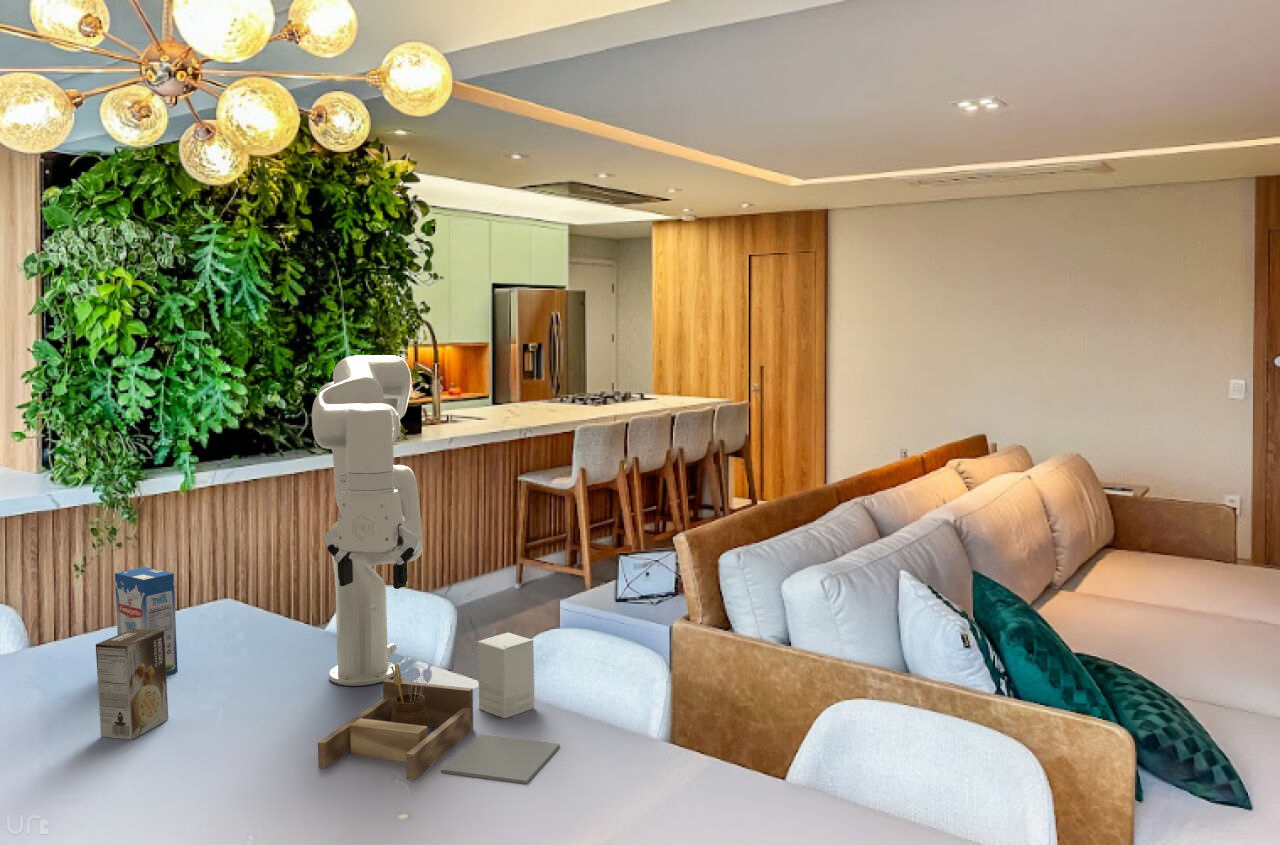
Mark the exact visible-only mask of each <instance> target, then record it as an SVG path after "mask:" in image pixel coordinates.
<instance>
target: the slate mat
mask: <svg viewBox="0 0 1280 845" xmlns="http://www.w3.org/2000/svg"><path fill="white" fill-rule="evenodd" d="M560 746H561V745H560V743H555V742H548V741H540V740H531V739H524V738H523V739H522V738H516V737H514V738H513V737H508V736H507V737H505V736H498V735H490V734H481V733H480V734H479V735H478V736H477V737H476V738H475V739H474V740H472V741H471V742H470V743H469V744H468V745H467V746H466V747H464V749H462V750H461V752H459V753H458V754H457V755H456V756H455V757H454V758H453V759H451V760H450V761H449V762H448V763H447V764H446V765H445V766H443V767H442V768H441V773H443V774H450V775H456V776H457V775H459V776H465V777H473V778H478V779H479V778H481V779H488V780H496V781H502V782H510V783H519V784H524V785H525V784H526V785H527V784H528V783H529V782H530V781H531V780H532V779H533V777H534V776H535V775H537V773H538V772H539V771H540V770H541V769H542V767H543V766H544V765H545V764H546V763H547V761H549V760H550V758H551V757H552V756H553V755H554V754H555V753H556V751H557V750H559V748H560Z"/></svg>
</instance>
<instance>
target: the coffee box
mask: <svg viewBox="0 0 1280 845" xmlns="http://www.w3.org/2000/svg"><path fill="white" fill-rule="evenodd" d="M95 653H96V654H95V655H96V657H95V658H96V660H95V661H96V675H97V690H98V708H99V709H98V710H99V724H100V725H99V727H100V728H99V729H100V737H101V738H107V737H108V738H109V739H121V740H122V739H123V740H132V741H133V740H135V739H136V738H138V737H140V736H142V735H143V734H145V733H147V732H149V731H150V730H152V729H154V728H155V727H158V726H159V725H160V724H163V723H164V722H166V721H168V720H169V705H168V703H169V701H168V682H167V676H166V663H165V644H164V630H146V629H131V630H129V631H127V632H124V633H122V634H119V635H118V634H117V635H114V636H112V637H110V638H108V639H105V640H103V641H101V642H98V643H95Z"/></svg>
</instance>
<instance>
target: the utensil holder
mask: <svg viewBox="0 0 1280 845" xmlns="http://www.w3.org/2000/svg"><path fill="white" fill-rule="evenodd" d="M394 665H395V666H394V668H395V673H396V674H395V673H394V668H393V666H392V673H393V677H392V678H393V679H392V680H394V684H395V685H397V686H398V689H399V694H400V695H399V696H397V697H396V698H395V699H394V702H393V706H394V709H393V711H392V717H391V721H390V722H395V723H403V724H412V725H420V726H427V729H428V730H429V726H428V711H427V708H426V707H425V704H426V700H425V697H424V695H422V694H420V693H419V694H418V693H407V694H402V692H401V687H400V685H401V683H402V681H403V678H402V673H401V670H400V665H399V664H398V663H397V664H394ZM413 679H414V680H413ZM415 679H416V684H417V683H419V682H418V681H419V680H420V683H421V685H422V683H425V682H424V680H423V679H422V677H421V676H415V677H412V678H411V680H410V681H409V682H415ZM411 684H413V683H411ZM409 686H410V684H409ZM423 688H424V685H423ZM411 689H412V687H411ZM416 690H417V688H416V689H415V692H416ZM421 690H422V687H421ZM421 690H420V691H421ZM422 693H423V692H422Z"/></svg>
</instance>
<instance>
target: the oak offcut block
mask: <svg viewBox="0 0 1280 845" xmlns="http://www.w3.org/2000/svg"><path fill="white" fill-rule="evenodd" d="M350 735H351V750H350V755H351V756H360V757H365V758H375V759H381V760H390V761H398V762H405V763H406V753H407V752H409V751H410V750H411V749H412V748H414V747H415V746H416V745H417V744H419V743H420V742H421V741H422V740H424V739H425V738H426V737H427V736H429V728H428V729H427V726H420V725H412V724H403V723H395V722H391V721H390V722H387V721H378V720H370V719H361V718H360V719H359V720H357V721H356V722H354V723H353V724H351V725H350Z"/></svg>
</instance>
